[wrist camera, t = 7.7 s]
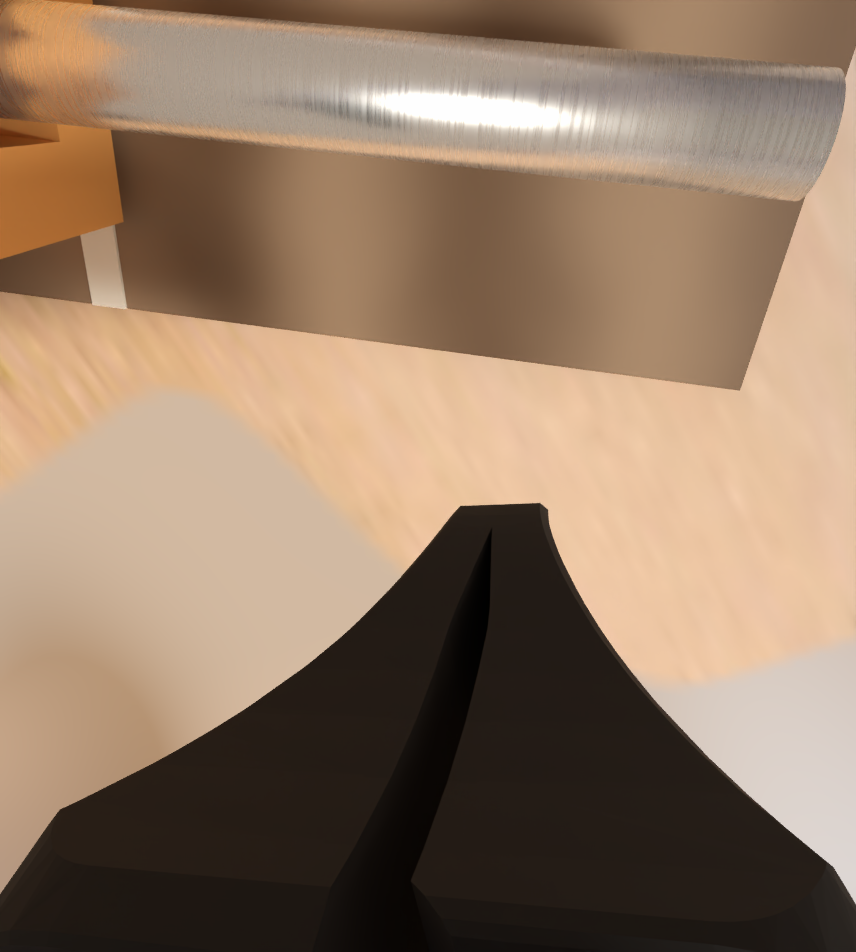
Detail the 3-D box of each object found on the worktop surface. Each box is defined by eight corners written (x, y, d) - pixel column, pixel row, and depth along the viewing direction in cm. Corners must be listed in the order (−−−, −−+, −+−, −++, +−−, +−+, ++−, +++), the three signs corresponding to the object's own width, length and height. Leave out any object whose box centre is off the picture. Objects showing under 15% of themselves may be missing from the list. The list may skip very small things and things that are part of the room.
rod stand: (931, -237, 12) (1280, -541, 6) (731, 376, 18) (814, 514, 12) (-305, -285, 15) (-875, -531, 9) (-126, 263, 21) (-396, 331, 15)
